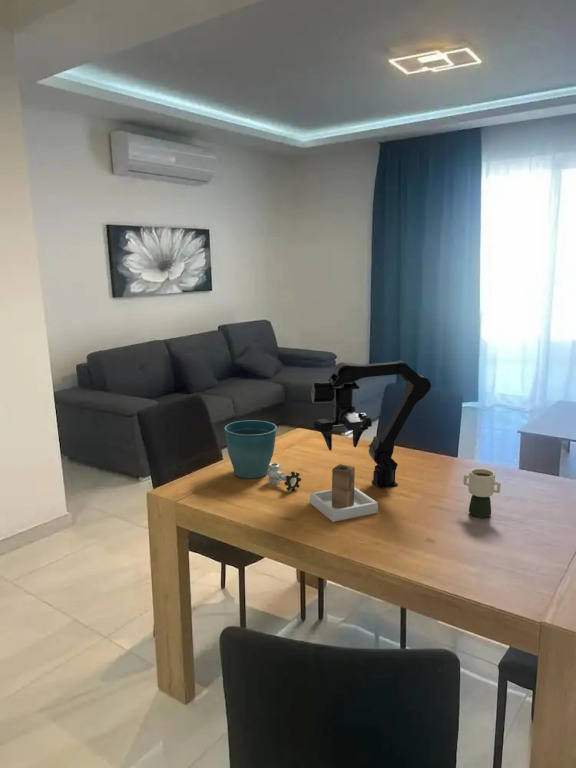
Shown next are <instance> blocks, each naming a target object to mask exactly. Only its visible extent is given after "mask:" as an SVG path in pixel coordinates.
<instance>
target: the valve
mask: <svg viewBox="0 0 576 768" xmlns="http://www.w3.org/2000/svg"><path fill="white" fill-rule="evenodd" d="M268 466H269V467H268V473H267V477H268V484H269V485H271V484H272V486H274V485H275V484H277V485H279V484H280V482H282V481H284V486H287V487H286V488H285V489H286V491H292V492H295V491H296V488H300V484H299V482H302V478H301V477H299V476H300V473H299V472H295V471H291V472H290V474H291V475H288V474H287V475H285V473H284V472H283V471H280V468H281V467H280V466H281V465H280V463H277V462H270V464H269V465H268ZM275 486H276V485H275Z"/></svg>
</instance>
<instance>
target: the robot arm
mask: <svg viewBox="0 0 576 768" xmlns="http://www.w3.org/2000/svg"><path fill="white" fill-rule="evenodd" d="M395 375H399V376H400V377H401V378H402V379H403V380H404V381H405V382H406V383H405V387H404V391H403V397H402V399H401V401H400V403H399V404H398V406H397V408H396V409H395V412H394V413H393V415H392V417H391V419H390V421H389V423H388V424H387V426H386V427H385V430H384V431H383V433H382V434H381V435H380V436H378V437H377V436H373V438H372V441H371V442H370V444H369V445H368V447H369V449H368V454H369V457H370V458H371V459H372V460H373V461H374V463H375V464H376V465H374V470H373V472H372V473H373V474H372V475H373V479H372V480H371V483H372V484H374V485H376V486H377V487H379V488H381V489H386V488H391V487H395V486H398V485H399V484H398V483H397V482H396V470H397V468H398V465H399V464H398V463H397V461H395V460H394V459H393V458H392V457H393V454H394V450H395V443H396V440H397V439H398V437H399V435H400V433H401V432H402V430H403V428H404V426H405V425H406V423H407V421H408V419H409V418H410V416H411V414H412V412H413V411H414V408H415V406H416V405H417V404H418V403H420V402H421V401H422V400H423V399H424V398H426V396H427V395H428V393H429V392H430V390H431V387H432V384H431V381H430V380H429V379H428V378H427V377H425V376H423V375H422V374H420V373H419V374H418V373H417V372H416V371H414V369H412V368H411V367H410V366H409V365H408V364H407V362H404V361H402V360H395V361H390V362H389V361H388V362H380V363H379V362H378V363H377V362H376V363H366V364H363V363H362V364H359V363H355V362H339V363H337V364H336V366H334V370H333V373H332V374H331V375H330V377H329V378H328V379H327V381H313V383H312V388H311V391H310V393H311V401H312V403H313V404H325V403H326V404H329V403H332V402H333V401H334V403H333V404H332V407H333V408H334V415H333V416H332V420H333V421H330V420H328V419H326V418H322V419H316V420H315V421H314V422H313V429H315V430H316V431H318V432H320V434H321V435H322V437H323V439H324V441H325V444H326V445H327V449H328V450H329V452H330V451H332V448H333V447H332V446H333V441H332V440H333V438H332V437H333V434H334V431H333V429H334V428H339V427H345V428H346V430H348V431H351V432H352V444H353V448H357V447H358V444H359V441H360V438H361V437H362V435H363V433H364V432H365V431H366V430H368V429H369V428H370V427H371V428H372V427H373V420H372V418H371V417H370V416H368V415H367V414H366V413H365V412H361V413H359V412H358V413H357V412H356V407H355V406H354V404H353V402H354V390H359V389H360V387H361V386H359V385H358V384H357V383H356V382H357V381H360V380H361V379H365V378H371V377H382V376H383V377H386V376H395Z"/></svg>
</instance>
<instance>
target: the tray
mask: <svg viewBox="0 0 576 768" xmlns="http://www.w3.org/2000/svg"><path fill="white" fill-rule="evenodd" d="M309 504H311V505H312V507H313V506H314V507H315V509H317V510H318V511H319V512H321V513H322V514H323V515H324V516H325V517H326V518H327V519H329V520H330V521H331V522H332V523H334V522H338V521H345V520H350V519H353V518H358V517H363V516H368V515H373V514H377V513H379V511H378V510H379V502H377V501H376V500H374V499H373V498H371V497H370V496H368V495H367V494H366V493H364V492H362V491H361V490H359V489H358V488H357V487H355V486H354V505H353V506H351V507H346V508H341V509H339V508H334V507H332V488H331V489H326V490H320V491H315V492H310V493H309Z"/></svg>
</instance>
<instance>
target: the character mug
mask: <svg viewBox="0 0 576 768" xmlns="http://www.w3.org/2000/svg"><path fill="white" fill-rule="evenodd" d="M467 481H468V482H467ZM463 485H464V486H467V487H468V492H469V494H471V497H470V502H469V506H468V507H469V508H468V512H469V514H470V515H472V516H475V517H478V518H484V517H489V516H490V515H492V504H491V503H492V502H491V497H493V496H494V495H493V494H494V493H495V494H500V493H501V488H502V487H501V482H499V481H496V473H495V472H494V471H493V470H490V469H487V468H486V469H485V468H472V469H470V471H469V474H464V475H463ZM495 486H497V487H495Z"/></svg>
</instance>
